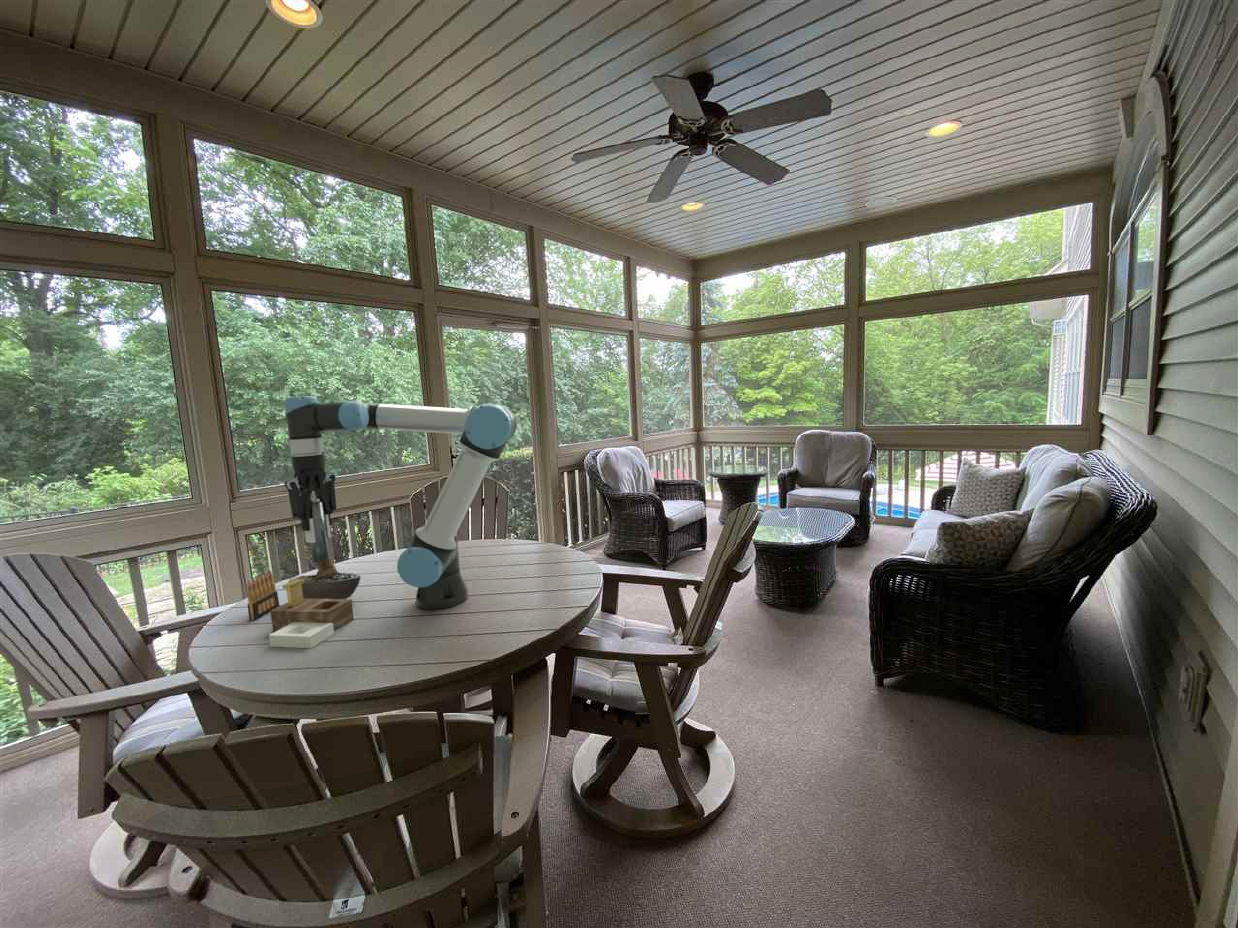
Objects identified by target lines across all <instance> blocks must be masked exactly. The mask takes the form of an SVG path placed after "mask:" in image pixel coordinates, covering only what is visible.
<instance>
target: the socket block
mask: <svg viewBox="0 0 1238 928" xmlns="http://www.w3.org/2000/svg"><path fill="white" fill-rule="evenodd" d="M303 600H304V602H303V603H301V604H299V605H297V606H295V607H293V608H289V606H288V601H287V602H285V603H284V604H281V605H279V607H277V608H275V609H273V610H271V611H270V612H269V613H270V619H271V620H270V621H271V628H272V633H274V632H276V631H278V630H280V629H282V628H283V627H285V626H287V625H289V624H291V623H293V622H312V623H333V628H334V632H336V631H338V630H339V629H340V628H341V629H342V627H344V626H346V625H347V624H349V623H351V622H352V621H354V620H355V619H354V611H353V610H354V609H353V602H352V599H351V598H347V599H311V598H303Z"/></svg>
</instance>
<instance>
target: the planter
mask: <svg viewBox="0 0 1238 928" xmlns="http://www.w3.org/2000/svg"><path fill="white" fill-rule="evenodd" d="M329 558H330V559H328V560H326V561H321V562H316V563H317V565H318V567H317V572H316V574H311V575H301V576H298V577H293V578H290V579H289V580H288V583H289V582H291V581H293V580H296V579H304V582H305V583H302V592H303V598H311V599H350V597H352V596H353V594H354V593H355V591H356V590H357V588H358V586H359V584H360V581H361V577H362V576H361V574H357V573H353V572H352V573H351V572H340V571H338V569H337V568H336V566H335V564H334V562H333V559H332V558H331V555H329Z"/></svg>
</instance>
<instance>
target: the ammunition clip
mask: <svg viewBox="0 0 1238 928" xmlns="http://www.w3.org/2000/svg"><path fill="white" fill-rule="evenodd" d="M273 575H274V574H273V572H272V571H271V570H270V569H268V573H267V572H265V573H264V575H263V573H261V574H260V577H259V575H257V576H256V579H255V577H253V578H252V581H251V580H248V581H247V601H248V603H247V613H248V621H249V622H250V621H251V622H254V621H257V620H259V619H261V618H262V617H264V616H265V615H268V614H269V613H270V611H271V610H273V609H275V608H277V607H279V606H280V601H279V594H278V590H277V589H276V583H275V580H274V576H273Z"/></svg>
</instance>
